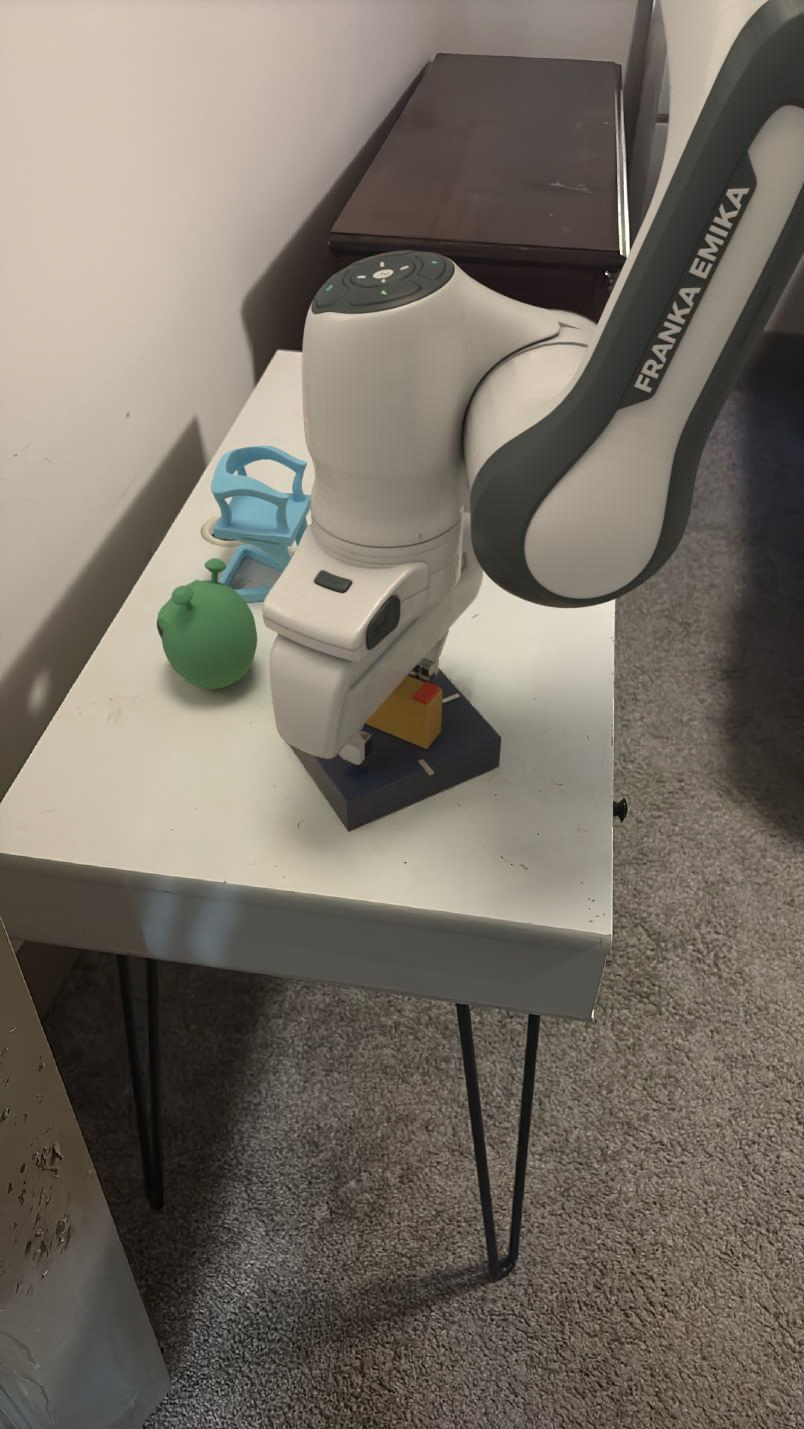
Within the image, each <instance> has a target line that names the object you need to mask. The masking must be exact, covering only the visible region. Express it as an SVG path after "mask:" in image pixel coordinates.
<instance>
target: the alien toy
mask: <svg viewBox="0 0 804 1429" xmlns="http://www.w3.org/2000/svg"><path fill="white" fill-rule="evenodd" d="M204 567H205V569H206V570H207V571H208V572H210V573H211V579H207V580H206V579H205V580H199V579H194V580H193V581H191V582H190V583H187V584H186V585H179V586H178V587H176V588H174V590H173V591H172V593H171V596H170V598H169V599H168V600H167V601H166V602H165V603H164V605H163V606H162V607H161V608H160V609H159V611H158V612H157V619H156V628H157V632H158V635H159V637H160V639H161V644H162V650H163V652H164V654H165V656H166V659H167V661H168V662H169V664H170V666H171V668H172V669H173V671H175V673H177V675H178V676H179V677H181V678H182V680H184V681H185V682H187V683H188V684H190V685H193V686H195V687H197V688H200V689H201V688H202V689H205V690H218V689H223V688H227V687H229V686H231V685H233V684H235V683H236V682H238V681H239V680H240V679H241V678H243V677H244V675H245V674H246V673H247V672H248V670H249V669H250V667H251V665H252V664H253V661H254V659H255V655H256V652H257V647H258V646H257V645H258V632H257V625H256V620H255V617H254V614H253V612H252V609H251V608H250V606H249V605H248V602H245V600H244V599H243V598H242V596H241V595H240V594H239V593H237V592H236V591H235V590H236V589H233V588H232V587H231V586H227V585H225V584H223V583H220V582H219V574H220V573H223V572H224V571H225V569H226V567H227V564H226V563H225V562H224V561H222V560H221V559H220V558H217V557H214V558H213V557H212V558H210V559H208V560H206V561H205V562H204Z"/></svg>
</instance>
